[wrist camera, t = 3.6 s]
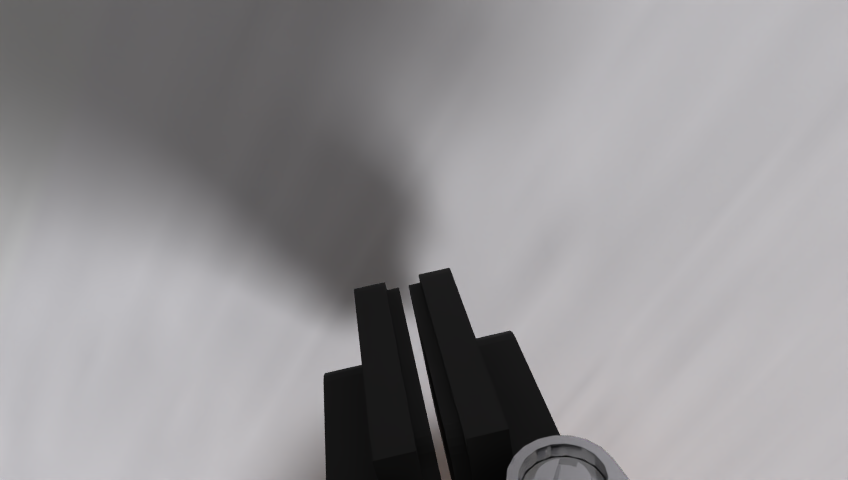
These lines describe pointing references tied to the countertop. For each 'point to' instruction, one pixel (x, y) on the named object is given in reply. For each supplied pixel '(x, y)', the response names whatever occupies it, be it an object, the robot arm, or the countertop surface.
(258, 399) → the countertop surface
